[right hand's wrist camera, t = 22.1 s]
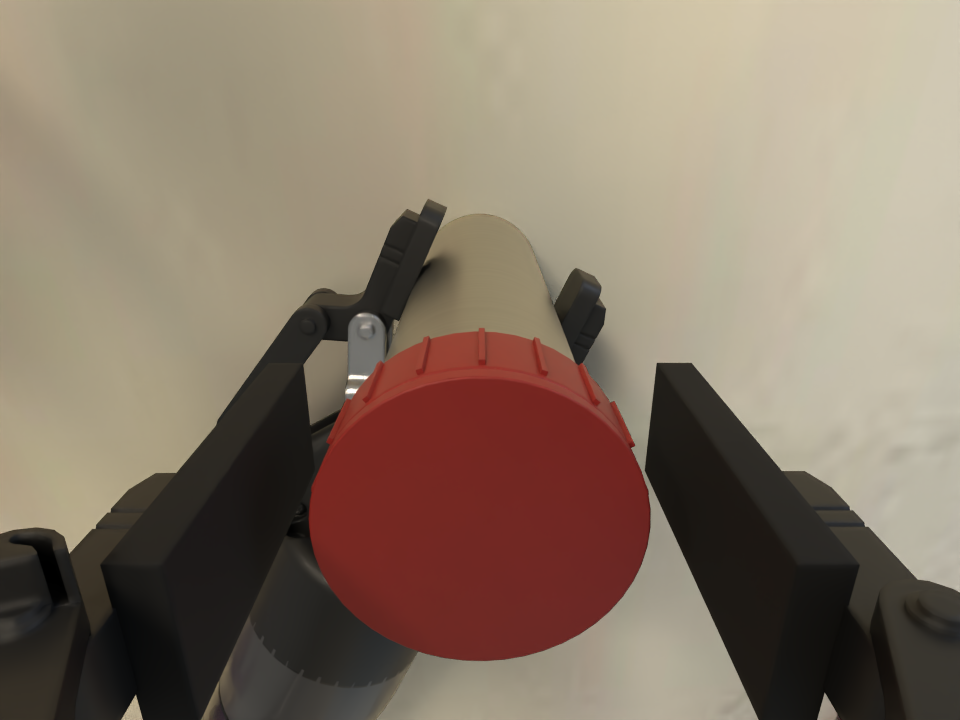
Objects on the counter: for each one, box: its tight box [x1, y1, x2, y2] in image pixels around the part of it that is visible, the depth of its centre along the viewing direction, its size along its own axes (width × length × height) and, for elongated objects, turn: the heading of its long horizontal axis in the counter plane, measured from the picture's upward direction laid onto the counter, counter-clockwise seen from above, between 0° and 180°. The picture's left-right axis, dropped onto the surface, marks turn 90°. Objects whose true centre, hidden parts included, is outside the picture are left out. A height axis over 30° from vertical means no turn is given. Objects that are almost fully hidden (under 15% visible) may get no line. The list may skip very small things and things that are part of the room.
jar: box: [384, 214, 575, 363], centre depth 19 cm, size 5×5×17 cm
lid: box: [309, 328, 650, 661], centre depth 11 cm, size 6×6×2 cm
